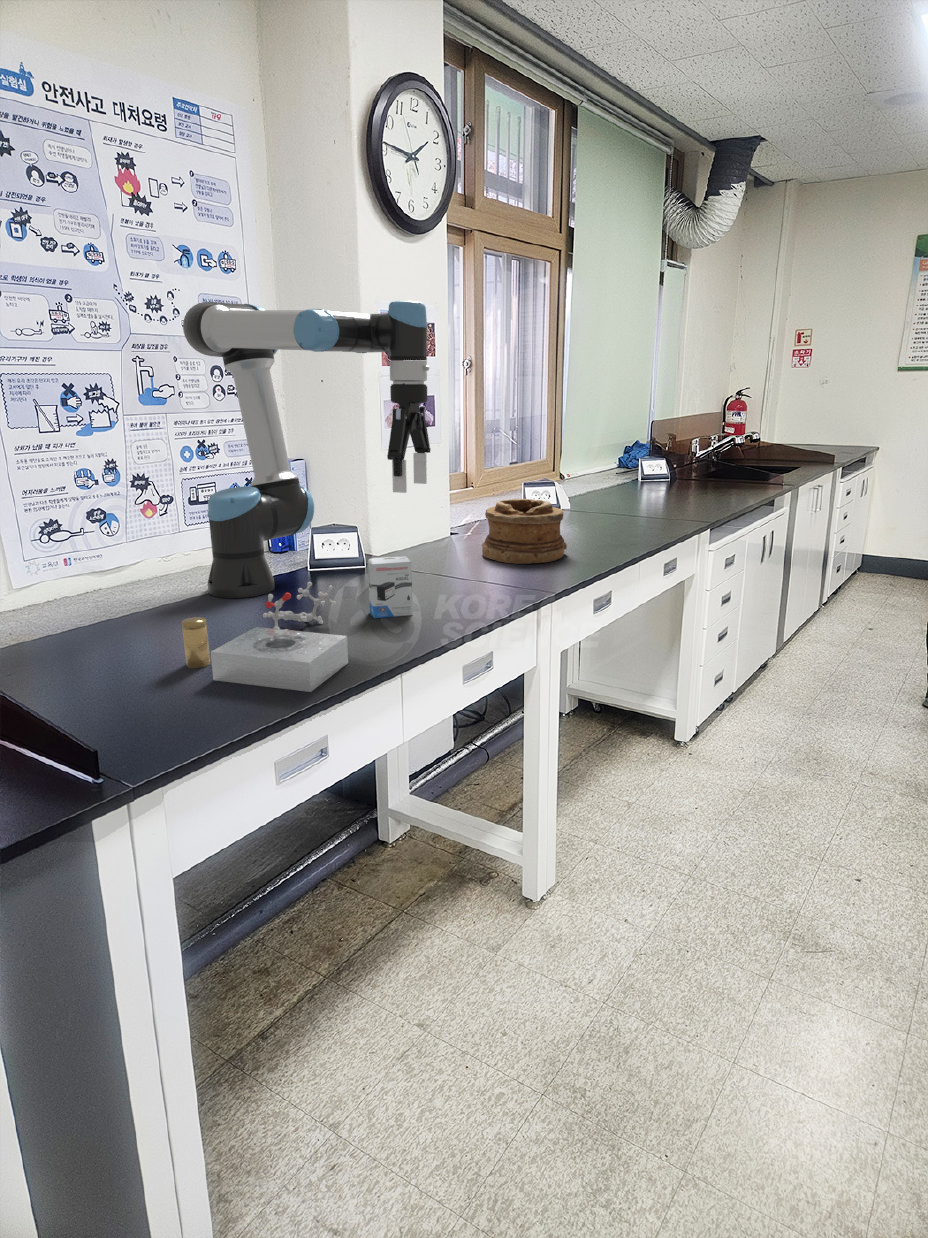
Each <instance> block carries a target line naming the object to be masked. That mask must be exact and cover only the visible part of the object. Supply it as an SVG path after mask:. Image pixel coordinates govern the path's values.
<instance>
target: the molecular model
mask: <svg viewBox="0 0 928 1238" xmlns="http://www.w3.org/2000/svg"><path fill="white" fill-rule="evenodd" d="M306 585H307V586H306V588H305V589H303V588H302V587H299V588H298V589H297V591H298V593H300V594H297V595H296V598H297V600H301V599H302V597H305V598H306V597H308V598H309V599H310V600H312V601H313V608H312V611H311V612H309V613H307V612H304V611H302V612H300V613H294V612H293V611H291V610H286V611H283V610H280V609H281V608H282V607H283V604H284V603H285V602H286V601H288V600H290V599H291V598H292V594H291V593H290V592H285V593H284V594H283V596H282V597H281V598H279V599H278V600H276V601H275V602H273V598H274V594H272V593H268V595H267V598H268V599H267V601H266V602H265V604H264V605H265V607H266V608H267V609H271V608H273V607H274V608H275V612H272V611H268V612H264V613H263V614H262V617H263V618H264V619H266V618H272V620H273V622H274V626H273V627H272V629H281V630H283V628H280V627H279V625H278V624H279V623H278V621H279V620H281V619H282V620H284V621H289V620H290V621H292V620H293V621H297V622H299V623H300V622H305V623H309V622H311V621H312V620H315V621H317V622H318V624H319V625H323V624H324V621H323V617H322V616H321V615H318V616H317V613H316V611H317V609H318V606H320V605H321V606H325V605H326V601H328V602H329V603H331V606H332V607H335V606H336V605H337V602H336V601H335V600H332V599H331V595H330V593H331V591H333V589H334V587H333V585H329V586H328V587H327V588H328V589H327V591H326V592H322V591H319V592H318V593H317V595H318V596H319V597H321V598H316V597H314V596H313V595H312V594H310V593H311V592H310V588H311V587H312V586H313V582H311V581H308V582H307V583H306ZM284 630H289V629H287V628H286V629H285V628H284Z"/></svg>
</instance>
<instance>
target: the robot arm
mask: <svg viewBox="0 0 928 1238" xmlns="http://www.w3.org/2000/svg"><path fill="white" fill-rule="evenodd" d="M427 320H428V319H427V307H426V305H425V304H424V303H423V302H421V301H413V300H397V301H391V302H389V304H388V310H387V312H385V313H366V312H365V313H364V312H363V313H362V312H348V311H338V310H326V309H323V308H311V309H310V308H309V309H303V310H302V309H295V310H294V309H292V310H291V309H281V310H280V309H273V310H272V309H271V310H270V309H265V308H264V307H261V306H259V305H253V304H249V303H232V302H230V303H229V302H217V301H203V302H199V303H196V304H195V305H192V306H191V307H190V308H189V309H188V310H187V311H186V313H185V316H184V318H183V321H182V329H183V330H182V331H183V334H184V338H185V339H186V341H187V343H188V344H189V346H190V347H191V348H192V349H194V350H195V351H196V352H197V353H199V354H202V355H204V356H209V357H214V358H215V357H218V358H222V361H223V365H224V369H225V370H226V371H227V372H229V373H230V374H232V377H233V381H234V386H235V390H236V394H237V395H236V396H237V400H238V403H239V409H240V415H241V418H242V422H243V423H242V424H243V428H244V432H245V437H246V438H245V439H246V443H247V446H248V452H249V457H250V462H251V466H252V469H253V475H254V478H253V480H252V481H251V482H250V484H249V486H248V485H247V486H237V487H229V488H225V489H221V490H218V491H216V492H214V493H212V494H211V495H210V496H209V498H208V501H207V510H208V511H207V518H208V522H209V523H208V524H209V531H210V542H211V552H212V562H211V566H210V570H209V576H208V579H207V593H208V594H209V595H211V596H213V597H218V598H224V599H240V598H242V599H243V598H250V597H252V598H253V597H257V596H263V595H265V594H270V593H271V592H272V591H274V590H275V587H276V585H275V578H274V576H273V573H272V570H271V567H270V566H269V563H268V561H267V558H266V555H265V544H264V543H265V541H269V540H274V539H275V540H276V539H279V538H285V537H290V536H294V535H295V534H300V533H301V532H305V530H306V529H308V528H309V526H310V524H311V522H312V521H313V519H314V515H315V503H314V498H313V496H312V494H311V492H310V491H309V492H308V489H307V488H306V487H305V486H304V485H301V483H300V479H299V476H298V475H296V474H295V473H293V472H292V471H291V466H290V462H289V458H288V452H287V448H286V443H285V438H284V433H283V428H282V423H281V419H280V413H279V409H278V404H277V403H278V402H277V398H276V393H275V389H274V383H273V379H272V374H271V367H272V366H273V365H274V364H275V361H276V360H275V354H276V353H277V352H278V350H280V351H281V350H283V351H285V350H286V351H288V350H289V351H311V352H318V353H322V352H344V353H357V354H367V353H389V380H390V381H391V382H392V384H391V385H390V386H389V387H390V401H391V403H393V404H398V408H392V419H391V421H392V422H391V426H390V427H391V429H390V435H389V443H388V451H387V455H386V456H387V460H388V461H389V460H391V468H392V469H391V470H392V473H391V474H392V476H391V477H392V492H393V493H400V494H402V493H403V494H405V493H407V492H408V491H407V489H408V487H407V485H408V484H407V459H405V455H406V452H407V448H408V444H409V439H410V438H411V442H412V445H413V449H414V452H413V458H412V459H413V484H417V485H418V484H420V485H421V484H423V485H424V484H425V485H426V484H427V483H428V482H427V481H428V479H427V476H428V473H427V471H428V470H427V468H428V467H427V454H429V453H431V449H432V448H431V446H430V438H429V432H428V427H427V419H426V413H425V412H426V410H425V406H424V405H420V404H425V403H427V402H428V386H427V384H426V383H425V382H427V380H428V372H429V370H430V366H429V365H428V361H427V360H428V358H427V348H428V347H427V343H428V342H427V341H428V322H427ZM427 371H428V372H427Z"/></svg>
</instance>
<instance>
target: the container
mask: <svg viewBox="0 0 928 1238" xmlns="http://www.w3.org/2000/svg"><path fill="white" fill-rule="evenodd" d="M484 516H485V518H486V519H487V522H488V523H487V524H488V533H487V535H486V537H485V538H484V541H483V542H482V543H481V547H482V549H481V550H482V551H481V552H482V555H483V557H484V558H486V559H489V560H494V561H496V562H501V563H507V564H515V565H529V564H530V565H531V564H542V563H543V564H544V563H546V564H547V563H551V562H554V561H557V560H559V559H561V558H563V557H564V554H565V550H567V547H568V544H567V543H566V542H565V539H564V537H563V536H562V535H561V522H562V521H563V519H564V510H562V509H561V508H558V507H555V506H553V505H552V503H551V502H550V501H546V500H541V499H540V500H539V499H532V498H531V499H530V498H511V499H502V500H500V501H497V502H496V504H495V506H492V507H489V508H486V510H485V515H484Z"/></svg>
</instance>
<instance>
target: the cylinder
mask: <svg viewBox="0 0 928 1238" xmlns="http://www.w3.org/2000/svg"><path fill="white" fill-rule="evenodd" d="M181 626H182V627H181V628H182V637H183V645H184V655H185V664H186V667H187V668H190V669H201V668H205V667H208V666H210V665H211V653H210V646H209V644H210V643H209V635H208V625H207V619H206V617H200V616H199V617H198V616H197V617H196V616H195V617H188V618H184V619H182V621H181Z"/></svg>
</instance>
